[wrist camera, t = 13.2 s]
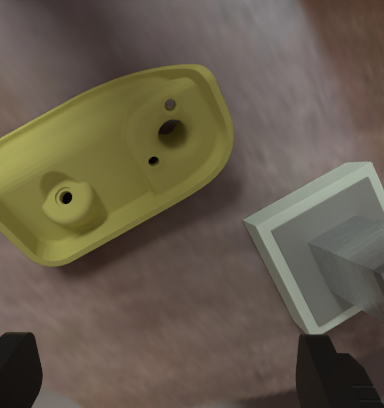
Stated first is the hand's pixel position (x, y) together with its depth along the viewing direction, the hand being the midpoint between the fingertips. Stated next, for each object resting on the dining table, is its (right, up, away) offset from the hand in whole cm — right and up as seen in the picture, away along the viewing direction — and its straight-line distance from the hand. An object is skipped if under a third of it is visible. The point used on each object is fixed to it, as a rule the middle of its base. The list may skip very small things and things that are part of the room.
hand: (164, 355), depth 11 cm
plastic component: (-6, +8, +22) cm, 24 cm away
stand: (+14, +1, +25) cm, 29 cm away
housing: (+14, 0, +21) cm, 25 cm away
